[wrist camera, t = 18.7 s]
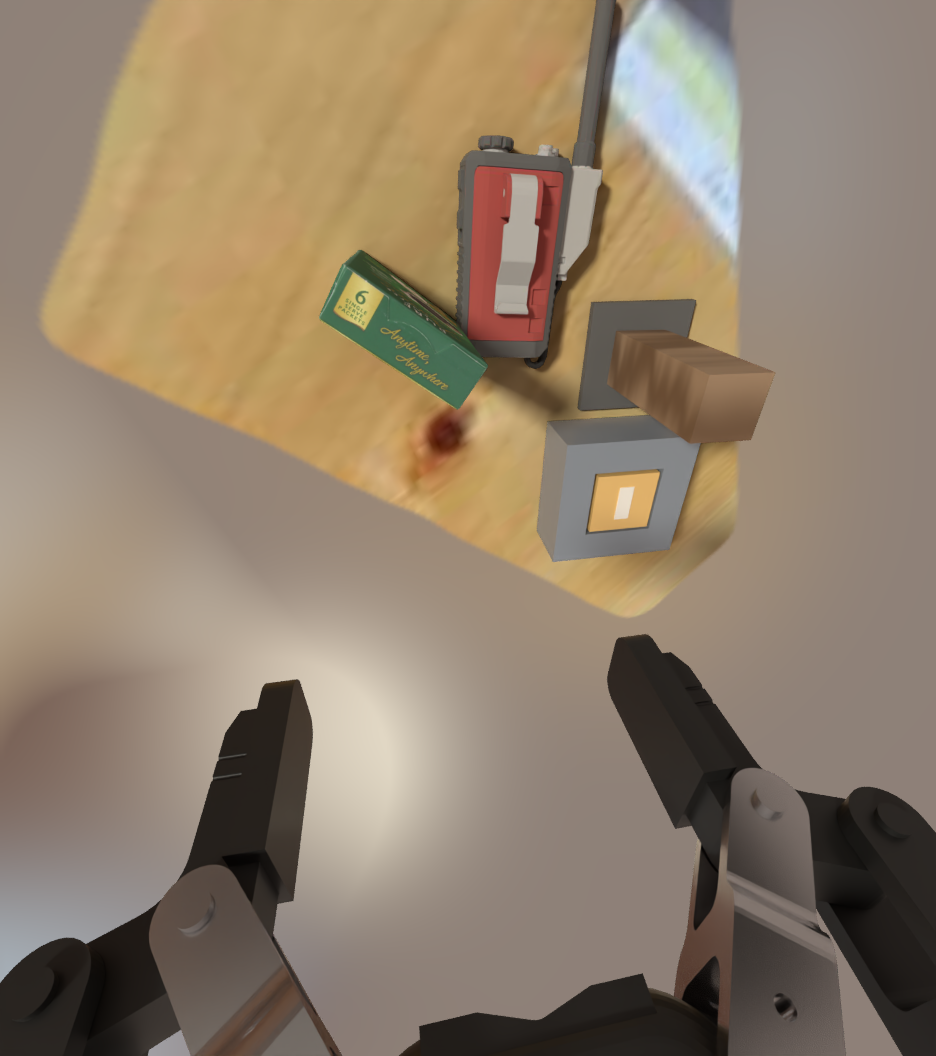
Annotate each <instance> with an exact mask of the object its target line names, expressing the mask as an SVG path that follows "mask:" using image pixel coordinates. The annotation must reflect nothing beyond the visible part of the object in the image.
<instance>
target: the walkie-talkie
mask: <svg viewBox="0 0 936 1056" xmlns="http://www.w3.org/2000/svg"><path fill="white" fill-rule="evenodd" d="M615 2H616V0H596V7H595V15H594V22H593V29H592V37H591V44H590V51H589V58H588V66H587V73H586V80H585V87H584V95H583V102H582V109H581V116H580V124H579V131H578V138H577V142H576V143H575V144H574V152H573V159H572V166H571V164H570V161H569V159H568V158H562V157H558V153H559V149H556V148H553V146H552V145H540V146H539V151H538V154H536V155H528V154H516V153H508V152H509V151H511V150H512V149H513V145H514V141H513V140H512V138H509V137H505V136H481V137H480V138H479V143H478V147H479V148H480V149H481V150H483V151H470V152H469V153H467V154H466V155H465V156H464V158H463V159H462V161H461V163H460V170H459V171H458V189H459V210H458V212H457V229H458V246H459V252H457V255H459V261H457V264H458V270H457V273H458V279H457V283H458V288H456V291H457V292H458V296H457V297H456V300H457V305H456V308H457V313H456V317H457V321H456V322H457V324H458V325H459V327H460V328H461V329H462V331H463V332H464V334H465V335H466V336H467V338H468V339H469V341H470V342H471V343H472V345H473V346H474V347H475V349H476V350H477V351H478V353H479V354H480V355H481V357H524V360H525V363H526V364H527V365H528V366H529V367H531V368H534V369H537V368H540V367H541V366H542V365H543V364H544V362H545V360H546V357H547V351H548V344H549V337H550V329H551V322H552V315H553V307H554V301H555V297H556V294H557V292H558V291H559V289H560V287H561V284H562V280H563V281H566V278H567V272H568V270H569V268H570V267H571V266H572V265H573V263H574V262H575V261H576V260H577V258H578V257H579V256H580V254H581V253H582V252H583V251H584V249H585V248H586V247H587V246H588V244H589V239H590V232H591V226H592V220H593V214H594V208H595V202H596V196H597V190H598V188H599V186H600V185H601V180H602V174H603V170H597V169H593V162H594V156H595V149H596V144H595V143H594V140H595V134H596V127H597V121H598V114H599V108H600V101H601V94H602V88H603V81H604V75H605V68H606V62H607V55H608V48H609V42H610V35H611V29H612V22H613V16H614V9H615ZM539 356H540V357H539ZM535 357H539V358H538V360H537V361H536V362H531V360H530V358H535Z"/></svg>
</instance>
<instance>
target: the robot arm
mask: <svg viewBox="0 0 936 1056" xmlns="http://www.w3.org/2000/svg"><path fill="white" fill-rule="evenodd" d="M607 682H608V689H609V693H610V696H611V699H612V701H613V703H614V705H615V707H616V709H617V711H618V713H619V715H620V717H621V719H622V721H623V723H624V725H625V727H626V729H627V731H628V733H629V735H630V738H631V739H632V742H633V744H634V746H635V748H636V750H637V752H638V754H639V755H640V758H641V760H642V762H643V764H644V766H645V768H646V770H647V772H648V774H649V776H650V778H651V780H652V782H653V784H654V786H655V788H656V790H657V793H658V795H659V797H660V799H661V801H662V803H663V805H664V807H665V809H666V811H667V813H668V815H669V817H670V819H671V821H672V823H673V825H674V827H675V829H677V828H682V827H687V826H692V827H693V829H694V831H695V833H696V835H697V837H698V840H697V844H696V852H695V861H694V870H693V879H692V889H691V897H690V907H689V916H688V925H687V932H686V937H685V941H684V945H683V948H682V951H681V954H680V959H679V962H678V967H677V973H676V980H675V988H674V996H672V995H670V994H668V993H665V992H662V991H659V990H656V989H652V988H648V987H647V984H646V982H645V979H644V976H643V974H638V975H634V976H630V977H625V978H621V979H617V980H613V981H609V982H605V983H600V984H596V985H591V986H589V987H588V988H587V989H585V990H584V991H582V992H581V993H580V994H578V995H576V996H575V997H573V998H572V999H571V1000H569V1001H568V1002H566V1003H565V1004H563V1005H562V1006H560V1007H559V1008H557V1009H556V1010H555V1011H553V1012H552V1013H550V1014H549V1015H547V1016H546V1017H544V1018H543V1019H540V1020H527V1019H520V1018H512V1017H505V1016H498V1015H490V1014H484V1013H473V1014H469V1015H465V1016H460V1017H456V1018H453V1019H448V1020H444V1021H440V1022H435V1023H431V1024H427V1025H423V1026H419V1030H420V1040H418V1041H417V1042H416V1043H414V1044H413V1045H412V1046H410V1047H408V1048H407V1049H406V1050H405V1051H404V1052H403V1053H401V1054H400V1055H399V1056H846V1052H845V1041H844V1031H843V1021H842V1010H841V1001H840V989H839V979H838V969H837V960H836V954H835V949H834V946H833V943H832V941H831V939H830V937H829V936H828V935H827V933H825V932H823V931H821V929H820V927H819V925H818V922H817V916H816V909H817V911H818V912H819V914H820V916H821V918H822V919H823V921H824V923H825V924H826V926H827V928H828V929H829V931H830V933H831V934H832V936H833V938H834V940H835V941H836V943H837V945H838V946H839V948H840V950H841V952H842V953H843V955H844V957H845V958H846V960H847V961H848V963H849V965H850V967H851V968H852V970H853V972H854V973H855V975H856V977H857V979H858V980H859V982H860V984H861V986H862V987H863V989H864V991H865V992H866V994H867V996H868V997H869V999H870V1001H871V1003H872V1004H873V1006H874V1008H875V1009H876V1011H877V1013H878V1014H879V1016H880V1018H881V1019H882V1021H883V1023H884V1025H885V1026H886V1028H887V1030H888V1031H889V1033H890V1035H891V1037H892V1038H893V1040H894V1042H895V1043H896V1045H897V1047H898V1048H899V1050H900V1052H901V1054H902V1055H903V1056H936V832H935V831H934V830H933V829H932V828H931V827H930V825H929V824H928V823H927V822H926V821H925V820H924V818H923V817H922V816H921V815H920V814H919V813H918V812H917V811H916V810H915V809H913V808H912V807H911V806H910V805H909V804H907V803H906V802H905V801H903V800H902V799H900V798H898V797H897V796H895V795H893V794H891V793H889V792H887V791H884V790H881V789H878V788H873V787H861V788H857V789H855V790H854V791H853V792H852V793H851V794H850V795H849V796H848V797H847V799H843V798H837V797H831V796H825V795H819V794H813V793H807V792H803V791H798V790H795V789H794V788H793V787H792V786H790V784H788V783H787V782H786V781H785V780H783V779H782V778H780V777H779V776H777V775H775V774H773V773H771V772H769V771H766V770H763V769H762V768H761V767H760V766H759V765H758V764H757V762H756V761H755V760H754V759H753V757H752V756H751V754H750V753H749V752H748V750H747V749H746V747H745V746H744V744H743V743H742V742H741V740H740V739H739V737H738V736H737V734H736V733H735V731H734V730H733V729H732V727H731V726H730V724H729V723H728V722H727V720H726V719H725V717H724V716H723V715H722V713H721V712H720V710H719V709H718V707H717V706H716V704H713V702H712V699H711V697H710V696H709V694H708V693H707V692H706V690H705V689H703V688H702V684H701V683H700V682H699V680H698V679H697V677H696V676H695V674H694V673H693V671H692V670H691V669H690V667H689V666H687V665H686V664H685V663H684V662H682V661H681V660H680V659H679V658H677V657H676V656H675V655H674V654H672V653H671V652H669V653H662V652H661V651H660V649H659V648H658V646H657V645H656V643H655V642H654V640H653V639H652V638H651V637H650V636H649V635H646V634H644V635H636V636H628V637H621V638H618V639H617V640H616V643H615V647H614V651H613V655H612V659H611V663H610V668H609V671H608V676H607ZM312 739H313V729H312V720H311V715H310V712H309V709H308V706H307V703H306V699H305V697H304V693H303V690H302V687H301V684H300V681H299V680H297V679H296V680H289V681H281V682H273V683H266V684H265V685H264V686H263V688H262V691H261V695H260V699H259V703H258V707H257V709H252V710H245V711H241V712H240V713H239V714H238V716H237V717H236V719H235V720H234V722H233V723H232V724H231V726H230V727H229V729H228V730H227V732H226V733H225V736H224V740H223V743H222V746H221V750H220V753H219V761H217V764H216V767H215V770H214V774H213V781H212V782H211V784H210V788H209V791H208V794H207V798H206V801H205V805H204V809H203V812H202V815H201V819H200V822H199V825H198V829H197V832H196V836H195V839H194V843H193V846H192V849H191V853H190V856H189V860H188V862H187V864H186V867H185V869H184V871H183V873H182V874H181V876H180V878H179V879H178V881H177V882H176V883H175V884H174V885H173V886H172V887H171V888H170V889H169V890H168V892H167V893H166V894H165V895H164V897H163V898H162V900H160V901H159V902H158V903H157V904H156V905H155V906H153V907H152V908H150V909H149V910H148V911H146V912H145V913H143V914H141V915H140V916H138V917H136V918H135V919H132V920H131V921H129V922H127V923H125V924H123V925H121V926H119V927H117V928H115V929H114V930H112V931H110V932H108V933H106V934H104V935H102V936H100V937H98V938H97V939H95V940H93V941H91V942H89V943H87V944H85V943H83V942H82V941H81V940H78V939H75V938H62V939H58V940H54V941H51V942H49V943H47V944H45V945H43V946H41V947H39V948H38V949H36V950H35V951H34V952H31V953H30V954H29V955H28V956H26V957H25V958H24V959H23V960H21V962H19V963H18V964H17V965H16V966H15V967H14V968H13V969H12V970H11V971H10V972H9V974H7V975H6V977H5V978H4V979H3V980H2V982H1V983H0V1056H148V1051H149V1049H151V1048H153V1047H154V1046H155V1045H157V1044H159V1043H160V1042H162V1041H163V1040H165V1039H166V1038H168V1037H170V1036H171V1035H173V1034H175V1033H176V1032H178V1031H179V1030H182V1033H183V1036H184V1039H185V1041H186V1044H187V1047H188V1049H189V1052H190V1055H191V1056H342V1054H341V1052H340V1050H339V1049H338V1047H337V1045H336V1044H335V1042H334V1040H333V1038H332V1037H331V1035H330V1033H329V1032H328V1030H327V1029H326V1027H325V1025H324V1023H323V1022H322V1020H321V1018H320V1017H319V1015H318V1013H317V1011H316V1009H315V1008H314V1006H313V1004H312V1002H311V1000H310V999H309V997H308V995H307V993H306V991H305V990H304V988H303V986H302V984H301V982H300V981H299V979H298V977H297V975H296V973H295V972H294V970H293V968H292V967H291V964H290V963H289V961H288V960H287V957H286V955H285V954H284V952H283V950H282V948H281V947H280V945H279V943H278V941H277V939H276V938H275V936H274V934H273V931H274V923H275V917H276V910H277V904H279V903H284V902H289V901H293V899H294V891H295V890H294V889H295V883H296V874H297V866H298V858H299V849H300V841H301V832H302V825H303V816H304V808H305V800H306V790H307V782H308V774H309V766H310V758H311V749H312Z"/></svg>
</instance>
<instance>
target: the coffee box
mask: <svg viewBox="0 0 936 1056" xmlns="http://www.w3.org/2000/svg"><path fill="white" fill-rule="evenodd" d="M319 319H320V321H322V322H323V323H325V324H326V325H328V326H329V327H331V328H332V329H334V330H335V331H337V332H338V333H340V334H341V335H343V336H344V337H346V338H347V339H349V340H351V341H352V342H354V343H355V344H357V345H358V346H360V347H361V348H363V349H364V350H366V351H367V352H369V353H370V354H372V355H373V356H375V357H376V358H378V359H379V360H381V361H382V362H384V363H385V364H387V365H388V366H390V367H392V368H393V369H395V370H396V371H398V372H399V373H401V374H402V375H404V376H405V377H407V378H408V379H410V380H411V381H413V382H414V383H416V384H417V385H419V386H420V387H422V388H423V389H425V390H427V391H428V392H430V393H431V394H433V395H434V396H436V397H437V398H439V399H441V400H442V401H444V402H446V403H447V404H449V405H450V406H452V407H453V408H455V409H459V408H460V407H461V405H462V404H463V402H464V401H465V399H466V398H467V397H468V395H469V394H470V392H471V391H472V389H473V388H474V386H475V385H476V383H477V382H478V381H479V379H480V378H481V377H482V375H483V373H484V372H485V371H486V369H487V368H488V365H487V363H486V362H485V361H484V359H483V358H482V357H481V355H480V354H479V353H478V351H477V350H476V349H475V347H474V346H473V345H472V343H471V342H470V341H469V339H468V338H467V336H466V335H465V334H464V332H463V331H462V329H461V328H460V327H459V325H458V324H457V322H456V321H455V320H454V319H452V318H451V317H449V316H448V315H447V314H446V313H444V312H443V311H442V310H440V309H439V308H438V307H436V306H435V305H434V304H432V303H431V302H430V301H428V300H427V299H426V298H424V297H423V296H422V295H420V294H419V293H418V292H417V291H415V290H414V289H413V288H411V287H410V286H409V285H407V284H406V283H405V282H403V281H402V280H401V279H399V278H398V277H397V276H395V275H394V274H393V273H392V272H390V271H389V270H388V269H386V268H385V267H384V266H382V265H381V264H380V263H378V262H377V261H376V260H374V259H373V258H372V257H370V256H369V255H368V254H366V253H365V252H364V251H362V250H358V251H357V252H356V254H354V255H353V256H352V257H350V258H349V259H348V260H347V261H346V262H345V263H344V264H342V266H341V268H340V271H339V273H338V275H337V277H336V279H335V282H334V284H333V286H332V288H331V290H330V293H329V295H328V297H327V300H326V302H325V304H324V307H323V309H322V311H321V313H320V316H319Z"/></svg>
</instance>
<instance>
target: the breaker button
mask: <svg viewBox="0 0 936 1056" xmlns="http://www.w3.org/2000/svg"><path fill="white" fill-rule="evenodd" d="M659 475H660V472H659V471H658V470H657V469H651V470H639V471H626V472H614V473H601V474H595V480H594V486H593V492H592V498H591V504H590V510H589V516H588V522H587V529H588V531H589V532H594V531H604V530H614V529H625V528H635V527H645V526H647V523H648V519H649V515H650V511H651V507H652V503H653V499H654V495H655V491H656V487H657V483H658V479H659Z"/></svg>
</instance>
